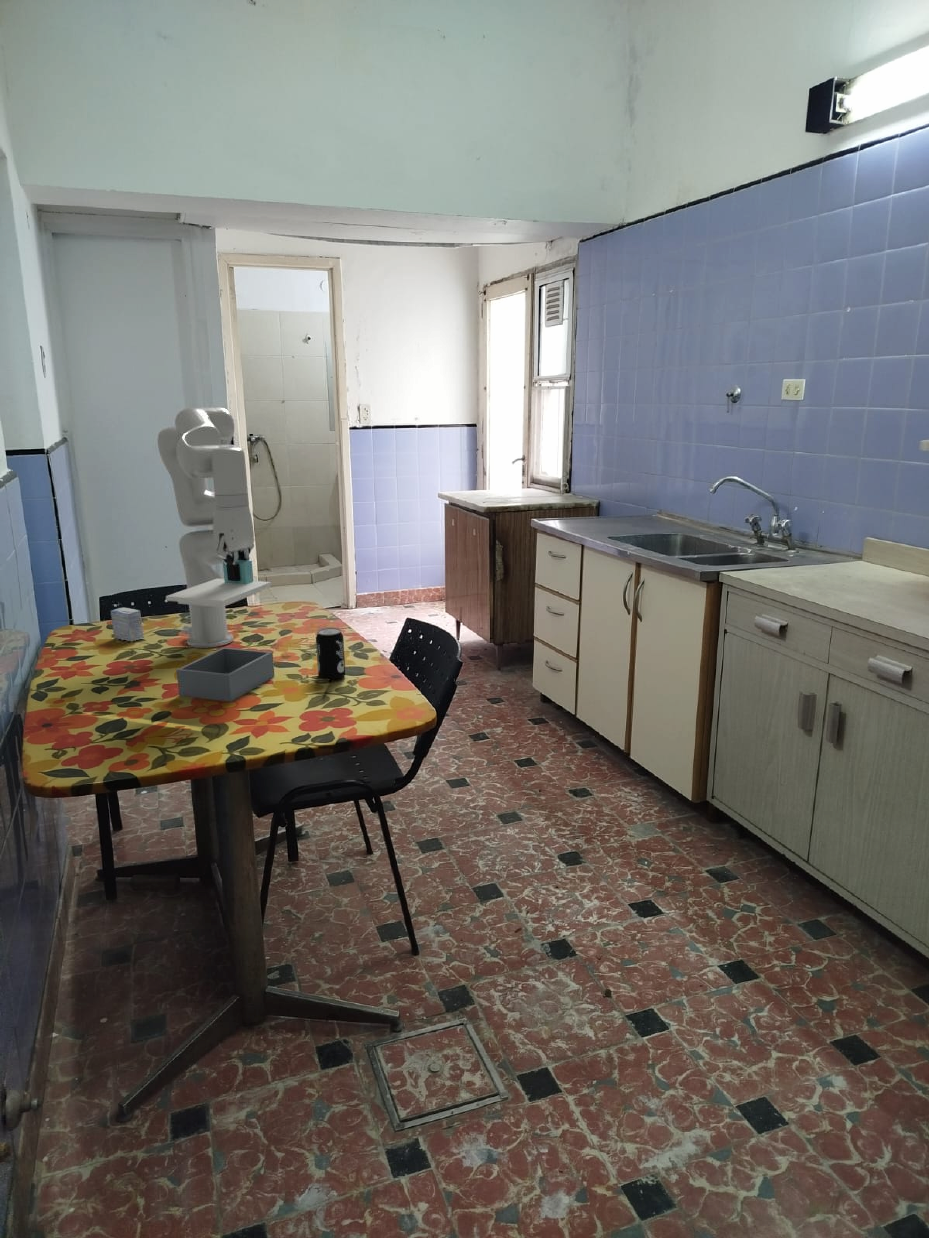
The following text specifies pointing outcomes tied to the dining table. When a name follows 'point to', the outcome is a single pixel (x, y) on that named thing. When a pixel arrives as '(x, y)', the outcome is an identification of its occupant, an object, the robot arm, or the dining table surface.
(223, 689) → the tub
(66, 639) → the dining table surface
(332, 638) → the beverage can
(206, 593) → the lid
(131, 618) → the white upright block
